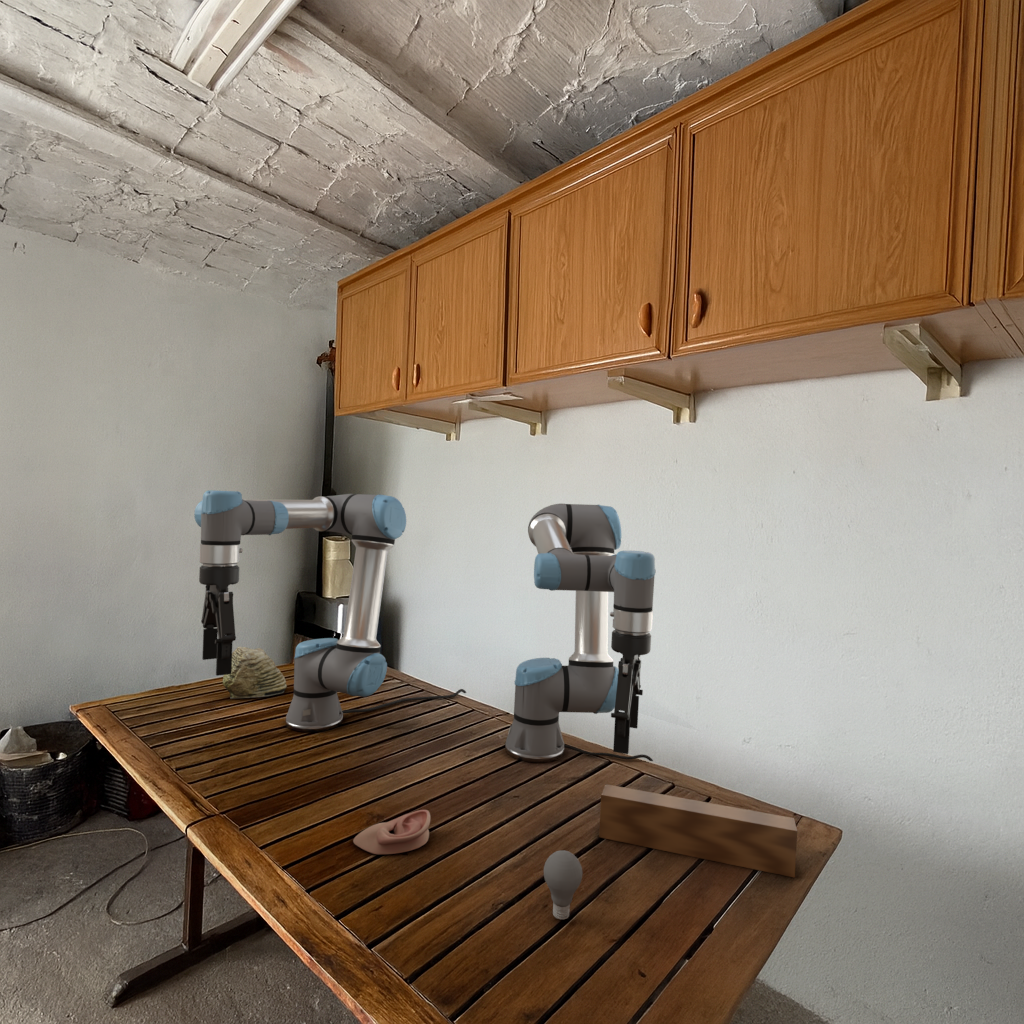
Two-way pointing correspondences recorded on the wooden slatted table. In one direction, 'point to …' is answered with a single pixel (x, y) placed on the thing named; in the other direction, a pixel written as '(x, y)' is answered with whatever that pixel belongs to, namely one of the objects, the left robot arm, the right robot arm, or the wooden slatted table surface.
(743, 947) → the wooden slatted table surface
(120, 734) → the wooden slatted table surface
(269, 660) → the fossil
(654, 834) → the bar
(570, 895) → the light bulb
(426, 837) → the anatomical model
